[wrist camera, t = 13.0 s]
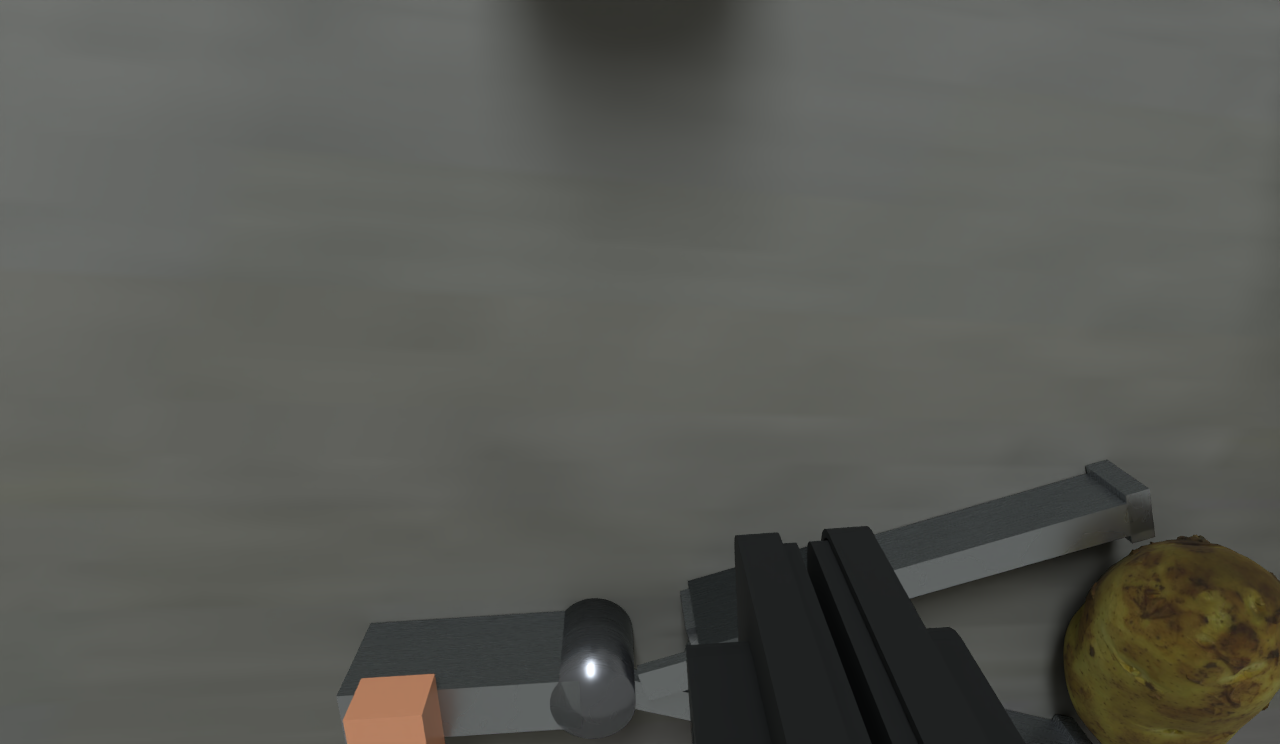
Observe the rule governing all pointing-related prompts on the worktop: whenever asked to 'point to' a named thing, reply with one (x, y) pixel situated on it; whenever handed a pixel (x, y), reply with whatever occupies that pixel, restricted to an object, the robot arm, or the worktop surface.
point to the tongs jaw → (948, 552)
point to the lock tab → (395, 711)
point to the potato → (1175, 645)
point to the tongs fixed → (549, 674)
